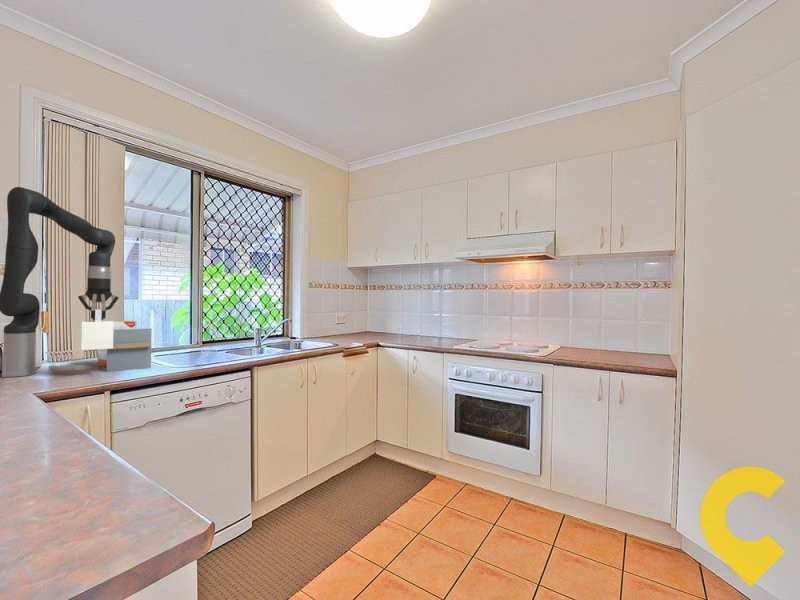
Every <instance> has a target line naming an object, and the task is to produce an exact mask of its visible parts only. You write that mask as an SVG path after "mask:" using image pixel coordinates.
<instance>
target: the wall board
mask: <svg viewBox="0 0 800 600" xmlns="http://www.w3.org/2000/svg"><path fill="white" fill-rule="evenodd" d="M143 368H145V369H151V368H152V328H136V329H119V330H113V348H111V349H107V366H106V372H107V373H108V372H119V371H129V370H131V371H132V370H140V369H141V370H143Z"/></svg>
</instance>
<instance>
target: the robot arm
mask: <svg viewBox="0 0 800 600" xmlns="http://www.w3.org/2000/svg"><path fill="white" fill-rule="evenodd" d="M6 210H7V234H6V236H7V237H6V238H7V239H6V246H5V257H4V258H5V261H4V269H3V270H4V271H3V279H2V284H1V288H0V313H1V314H3V315H4V316H6V317H12V318H13V319H12V321H10V322H9V323H8V324H5V325H4V327H3V352H2V353H1V378H13V377H14V378H15V377H23V376H24V377H26V376H31V375H32V376H33V375H35V374H36V353H37V351H36V347H37V346H36V339H37V338H36V335H37V334H36V333H37V327H38V325H39V322H40V310H41V306H40V300H39V299H38V297H37V296H36V295H34V294H32V293H28V292H27V293H25V290H24V289H25V285H26V280H27V279H28V277H29V275H30V274H31V273H32V271H33V270H34V269H35V267H36V266H37V263H38V258H39V244H38V241H37V238H36V237H35V235H34V233H33V231H32V230H31V226H30V220H29V219H30V214H33V215H38V216H42V217H44V218H47V219H49V220H52V221H53V222H55V224H57V225H58V226H59V227H61V228H62V229H64V230H65V231H67V232H69V233H71V234H74V235H75V236H77V237H78V238H80V239H81V240H82V241H84V242H85V243H87V244H89V245H93V246H96V248H95V251H91V252H89V253H88V267H87V268H88V269H87V276H86V277H87V278H86V279H87V283H86V285H87V286H86V287H87V288H86V292H85V293H84V294H81V295H78V296H77V298H78V300H79V301H80V302H81V304H82V306H83V307H84V308H85V310H89V311H90V319H92V321H95V309H96V307H97V306H96V305H97V303H101V309H102V314H101V321H104V319H106V315H107V314H106V312H107V311H109V310H111V309H113V307H114V305H115V304H116V303H117V302H118V300H119V296H116V295H115V294H113V292H112V291H111V289H112V288H111V287H112V286H111V285H112V284H111V283H112V282H111V280H112V272H111V271H112V270H111V256H112V255H113V251H114V248H115V245H116V237H115V234H114V233H113V232H112V231H110V230H108V229H102V228H99V227H95V226H93V224H92V223H90V222H89V221H87V220H86V219H84V218H82V217H80V216H78V215H76V214H74V213H73V212H70V211H68V210H66V209H64V208H62V207H61V206H59V205H57V203H55V202H54V201H52V200H50V199H49V198H48V197H46V196H45V195H44V194H42V193H41V192H40V191H39V192H38V191H36V190H33V189H29V188H26V187H22V186H16V187H13V188H11V189H10V190H9V191H8V193H7V196H6ZM87 298H88V299H89V300H90V302H91V306H89V304H88V303H87V302H86V300H87ZM110 298H111V299H110ZM109 299H110V300H111V302H110V303H109V305H108V306H106V302H107V301H108V300H109Z"/></svg>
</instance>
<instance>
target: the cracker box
mask: <svg viewBox="0 0 800 600" xmlns="http://www.w3.org/2000/svg"><path fill="white" fill-rule="evenodd" d="M113 321H114V328H113V330H119V329H137V320H113ZM100 367H103V368H104V367H107V349H97V368H100Z"/></svg>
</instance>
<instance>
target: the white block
mask: <svg viewBox="0 0 800 600" xmlns="http://www.w3.org/2000/svg"><path fill="white" fill-rule="evenodd" d="M101 314H102V308H100V309H99V308H95V320H83V321H81V345H80V347H81V349H80V350H81V351H86V350H87V351H89V350H98V349H111V348H113V328H114V321H115V320H101Z"/></svg>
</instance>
